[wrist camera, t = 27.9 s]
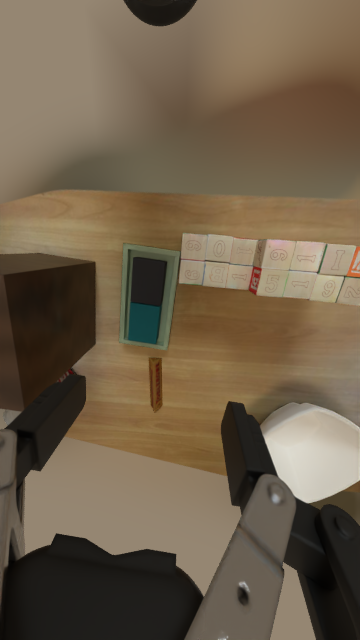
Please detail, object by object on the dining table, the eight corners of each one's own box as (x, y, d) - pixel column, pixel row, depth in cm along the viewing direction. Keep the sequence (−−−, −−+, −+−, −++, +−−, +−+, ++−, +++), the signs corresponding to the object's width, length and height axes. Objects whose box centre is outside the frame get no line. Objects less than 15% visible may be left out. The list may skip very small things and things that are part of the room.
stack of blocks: (181, 274, 35) (175, 287, 23) (185, 235, 32) (180, 228, 21) (306, 287, 34) (364, 307, 23) (318, 248, 32) (389, 248, 20)
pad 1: (137, 256, 34) (132, 257, 31) (167, 261, 33) (165, 262, 31) (135, 297, 36) (130, 301, 33) (162, 301, 36) (160, 306, 33)
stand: (38, 253, 35) (-106, 257, 18) (95, 261, 35) (3, 274, 18) (46, 335, 40) (-59, 399, 24) (95, 343, 40) (24, 412, 23)
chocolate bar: (161, 358, 40) (159, 364, 38) (162, 405, 45) (160, 413, 42) (148, 357, 41) (146, 363, 39) (150, 404, 45) (148, 412, 43)
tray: (127, 243, 34) (123, 243, 32) (181, 251, 33) (180, 251, 31) (122, 338, 40) (119, 342, 38) (168, 345, 39) (167, 350, 37)
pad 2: (134, 298, 36) (130, 302, 33) (162, 302, 36) (159, 307, 33) (132, 333, 38) (127, 340, 36) (158, 337, 38) (155, 344, 36)
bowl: (284, 469, 49) (302, 512, 41) (221, 425, 45) (227, 463, 37) (360, 420, 43) (399, 460, 35) (293, 365, 39) (319, 395, 31)
